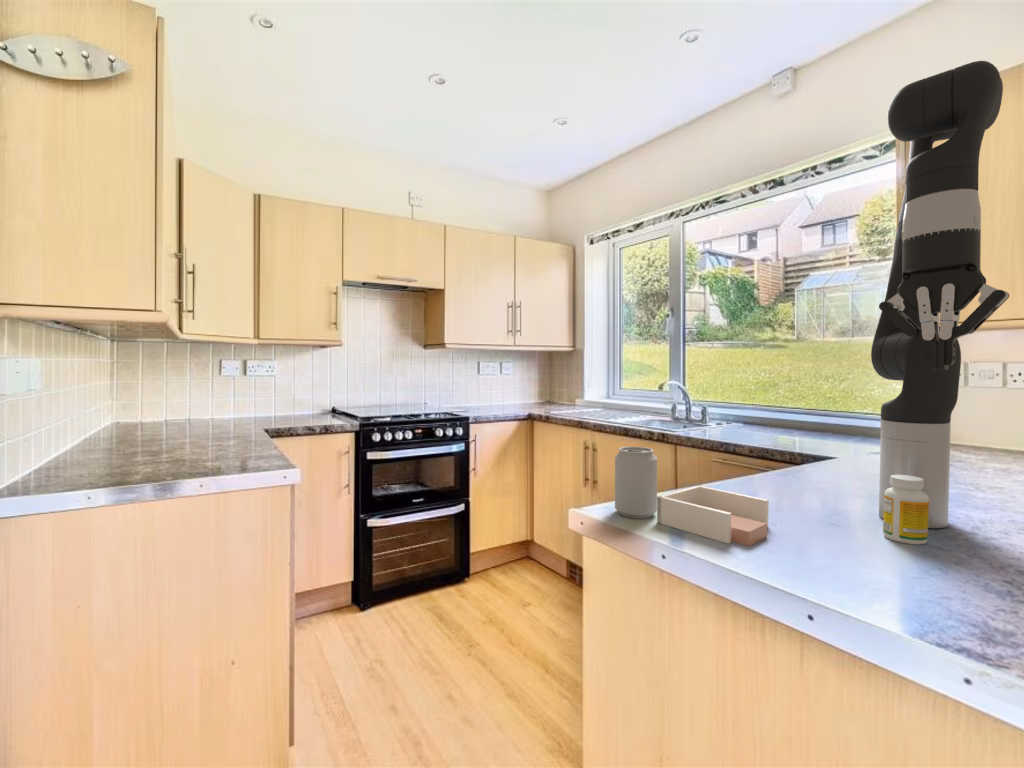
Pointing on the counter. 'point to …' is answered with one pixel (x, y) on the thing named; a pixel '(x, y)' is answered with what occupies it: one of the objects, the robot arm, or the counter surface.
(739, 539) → the tile
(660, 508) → the white u-shaped bracket
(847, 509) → the counter surface
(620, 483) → the can
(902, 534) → the supplement bottle
